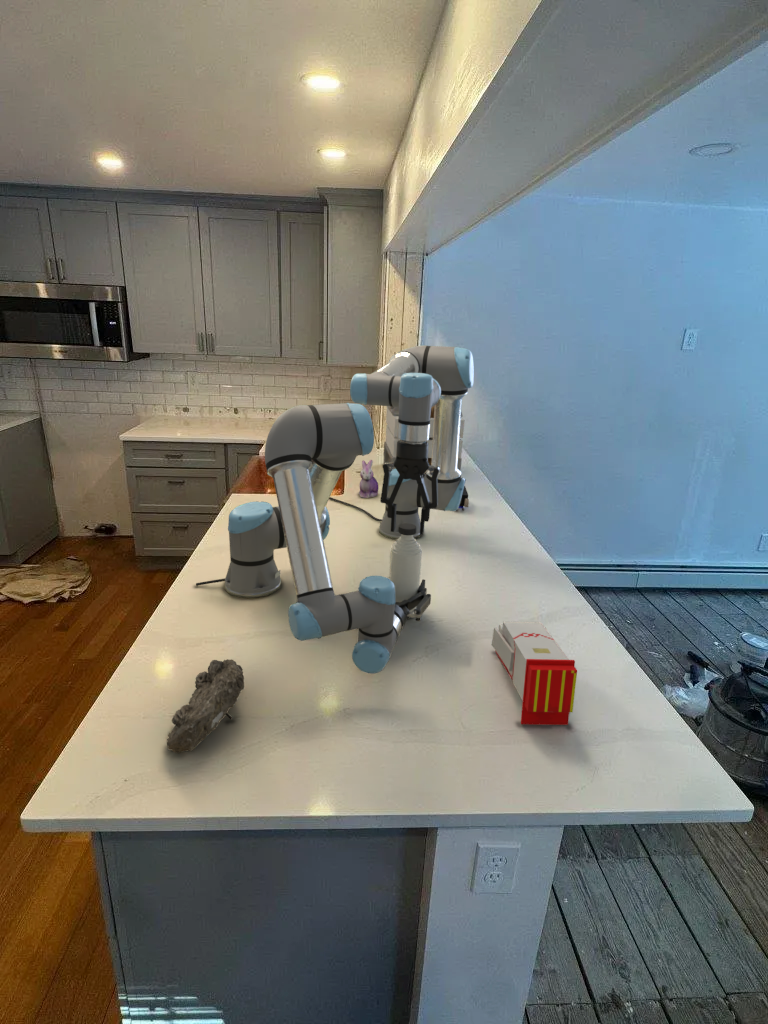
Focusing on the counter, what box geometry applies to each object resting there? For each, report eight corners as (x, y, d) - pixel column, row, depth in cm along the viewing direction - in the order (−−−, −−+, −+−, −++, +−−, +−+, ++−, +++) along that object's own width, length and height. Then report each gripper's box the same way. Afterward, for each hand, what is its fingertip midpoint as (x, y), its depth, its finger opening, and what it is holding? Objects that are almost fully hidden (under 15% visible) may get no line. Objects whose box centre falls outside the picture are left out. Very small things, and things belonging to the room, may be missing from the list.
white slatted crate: (382, 463, 289) (386, 382, 275) (445, 464, 293) (451, 384, 279) (390, 482, 257) (394, 392, 243) (460, 483, 261) (468, 394, 247)
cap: (419, 533, 141) (420, 527, 141) (405, 536, 139) (406, 530, 138) (408, 527, 144) (409, 522, 144) (395, 531, 142) (395, 525, 141)
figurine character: (468, 516, 224) (463, 500, 237) (471, 498, 221) (465, 483, 234) (452, 515, 224) (447, 499, 237) (453, 498, 220) (449, 482, 234)
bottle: (419, 606, 152) (425, 525, 144) (414, 620, 145) (420, 536, 137) (391, 601, 154) (395, 521, 146) (384, 615, 146) (388, 532, 138)
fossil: (192, 660, 117) (244, 628, 112) (224, 691, 120) (276, 661, 115) (142, 746, 98) (202, 712, 93) (182, 779, 101) (242, 748, 96)
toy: (538, 606, 134) (586, 666, 105) (533, 659, 137) (578, 731, 108) (487, 605, 134) (521, 665, 105) (483, 658, 137) (515, 730, 107)
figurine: (363, 499, 233) (364, 464, 228) (353, 492, 242) (354, 458, 236) (383, 497, 237) (385, 462, 232) (373, 490, 246) (374, 456, 241)
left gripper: (343, 630, 134) (370, 588, 155) (429, 646, 130) (445, 600, 150) (343, 602, 132) (371, 563, 152) (431, 617, 127) (447, 574, 148)
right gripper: (455, 440, 136) (447, 530, 144) (375, 434, 139) (371, 522, 146) (453, 447, 129) (445, 541, 137) (369, 440, 132) (366, 532, 139)
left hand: (407, 581), depth 151 cm, fingers closed on bottle, 8 cm apart
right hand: (407, 531), depth 141 cm, fingers open, 7 cm apart
